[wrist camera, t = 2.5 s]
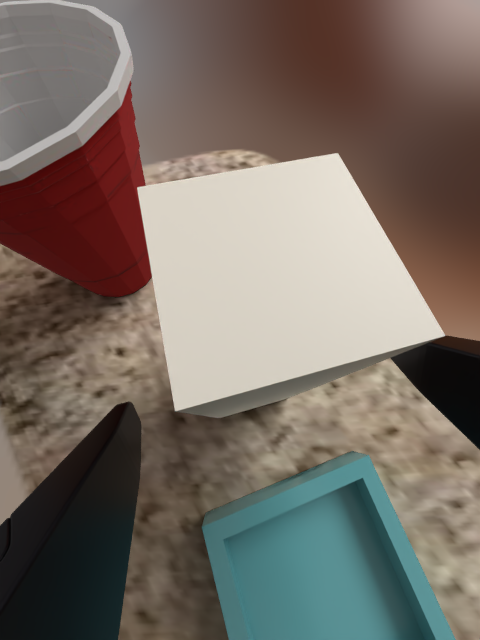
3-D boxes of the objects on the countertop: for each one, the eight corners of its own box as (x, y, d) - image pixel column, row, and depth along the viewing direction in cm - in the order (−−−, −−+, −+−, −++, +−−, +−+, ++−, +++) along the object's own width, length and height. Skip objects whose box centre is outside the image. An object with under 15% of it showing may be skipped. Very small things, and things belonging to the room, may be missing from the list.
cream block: (287, 398, 16) (445, 335, 4) (219, 418, 16) (174, 411, 4) (266, 333, 18) (337, 153, 6) (203, 349, 17) (136, 187, 5)
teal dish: (443, 651, 12) (480, 693, 10) (266, 755, 11) (273, 824, 9) (352, 451, 15) (368, 455, 13) (205, 512, 14) (201, 527, 12)
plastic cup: (52, 216, 21) (-149, -12, 10) (183, 205, 22) (133, -17, 11) (32, 340, 17) (-337, 193, 6) (192, 321, 18) (128, 161, 7)
